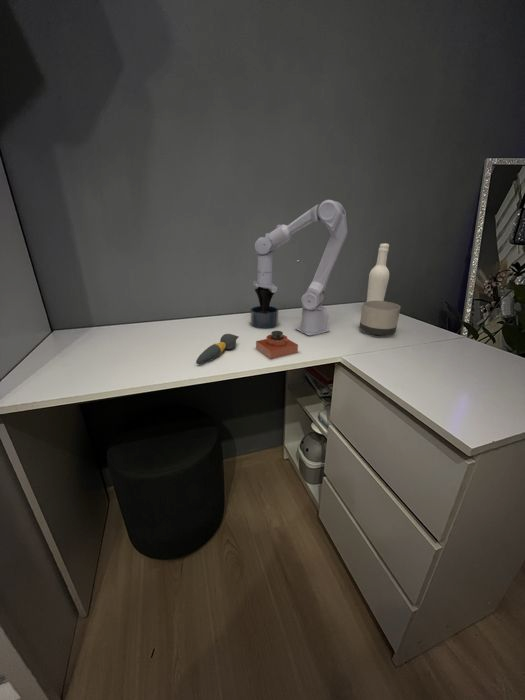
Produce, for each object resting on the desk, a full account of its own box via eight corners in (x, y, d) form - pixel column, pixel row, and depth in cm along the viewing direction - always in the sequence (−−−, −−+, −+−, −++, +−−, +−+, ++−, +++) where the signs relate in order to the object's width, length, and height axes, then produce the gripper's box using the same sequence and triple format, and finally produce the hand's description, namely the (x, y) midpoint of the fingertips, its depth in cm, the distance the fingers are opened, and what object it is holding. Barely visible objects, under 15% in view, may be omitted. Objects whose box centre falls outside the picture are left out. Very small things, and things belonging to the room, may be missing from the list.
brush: (266, 319, 122) (267, 296, 118) (274, 323, 118) (274, 299, 114) (254, 321, 120) (254, 297, 116) (261, 325, 115) (262, 300, 111)
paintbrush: (208, 369, 83) (206, 353, 81) (193, 366, 85) (191, 349, 83) (242, 345, 99) (241, 330, 97) (229, 342, 101) (228, 328, 99)
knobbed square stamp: (281, 343, 101) (282, 330, 99) (297, 352, 94) (298, 339, 92) (255, 348, 96) (255, 335, 94) (270, 359, 89) (270, 345, 87)
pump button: (278, 335, 96) (278, 329, 95) (284, 339, 93) (285, 333, 92) (268, 337, 94) (269, 331, 93) (275, 341, 91) (275, 335, 90)
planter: (372, 324, 120) (376, 299, 115) (402, 333, 110) (408, 306, 106) (351, 330, 113) (355, 303, 109) (381, 341, 103) (386, 312, 99)
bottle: (359, 313, 134) (370, 242, 121) (377, 313, 134) (389, 242, 122) (367, 319, 126) (379, 244, 114) (385, 318, 127) (399, 244, 115)
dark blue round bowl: (268, 318, 126) (269, 304, 123) (283, 325, 117) (283, 311, 115) (246, 322, 121) (245, 308, 118) (259, 330, 112) (259, 315, 110)
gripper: (246, 269, 115) (246, 304, 120) (265, 275, 103) (265, 313, 109) (262, 268, 118) (261, 302, 123) (282, 274, 106) (281, 310, 112)
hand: (264, 307), depth 116 cm, fingers closed on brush, 2 cm apart
